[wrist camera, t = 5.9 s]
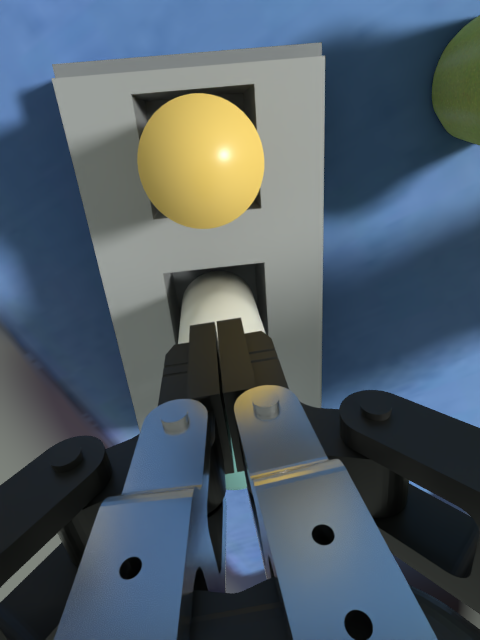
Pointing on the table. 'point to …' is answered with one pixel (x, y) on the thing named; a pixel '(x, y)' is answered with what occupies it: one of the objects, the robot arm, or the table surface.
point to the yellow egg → (200, 161)
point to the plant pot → (460, 84)
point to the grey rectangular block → (204, 244)
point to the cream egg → (218, 303)
